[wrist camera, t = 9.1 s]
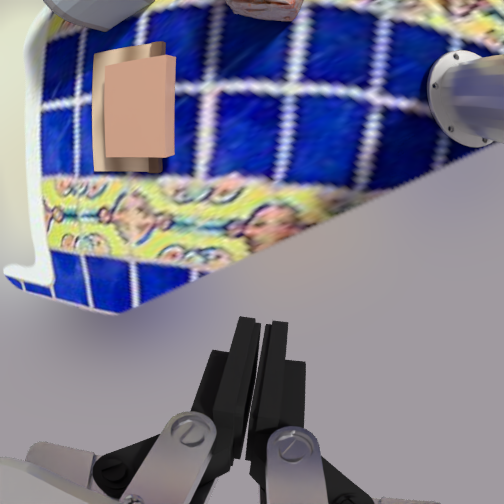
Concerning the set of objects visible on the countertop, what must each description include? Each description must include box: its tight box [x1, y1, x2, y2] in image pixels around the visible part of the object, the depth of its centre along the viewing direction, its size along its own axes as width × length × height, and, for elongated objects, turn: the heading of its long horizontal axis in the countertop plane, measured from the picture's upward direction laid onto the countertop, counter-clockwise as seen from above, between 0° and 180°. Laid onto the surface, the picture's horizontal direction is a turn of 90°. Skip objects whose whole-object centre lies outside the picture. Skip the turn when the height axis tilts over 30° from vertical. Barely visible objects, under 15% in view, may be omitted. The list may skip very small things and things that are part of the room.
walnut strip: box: [148, 41, 166, 173], centre depth 34 cm, size 1×17×1 cm, turn 177°
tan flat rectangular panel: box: [92, 44, 151, 172], centre depth 35 cm, size 9×17×1 cm, turn 176°
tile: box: [104, 55, 176, 158], centre depth 33 cm, size 2×12×9 cm
